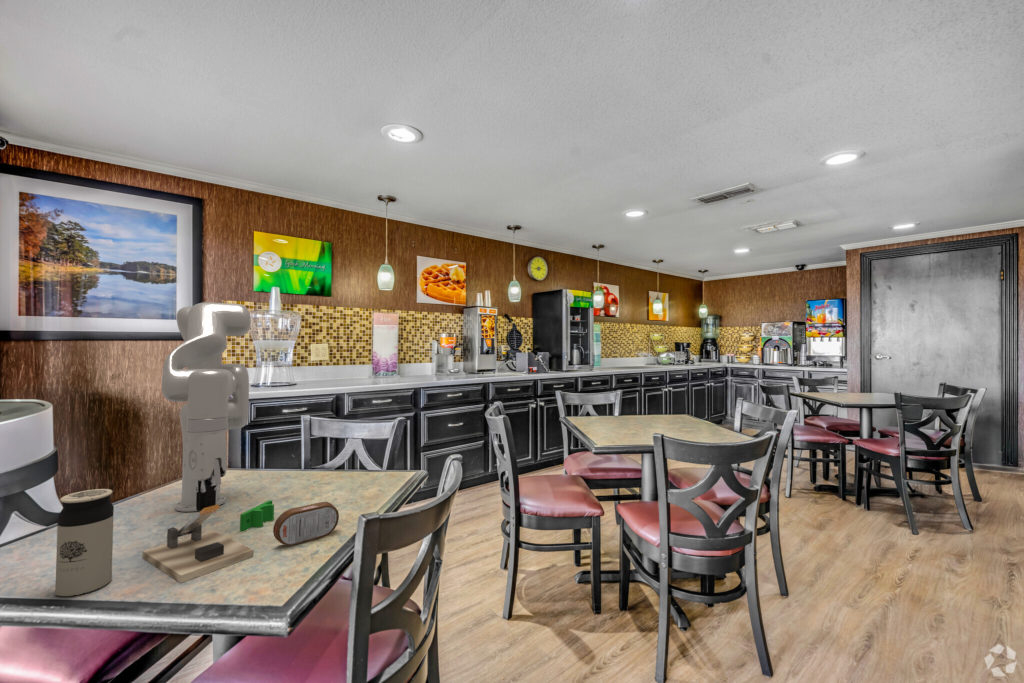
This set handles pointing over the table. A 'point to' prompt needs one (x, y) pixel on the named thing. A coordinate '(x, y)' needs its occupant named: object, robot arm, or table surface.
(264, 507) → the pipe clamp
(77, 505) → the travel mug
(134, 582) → the table surface
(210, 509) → the hinged lever
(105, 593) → the table surface
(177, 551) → the base plate
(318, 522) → the tin
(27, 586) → the table surface
